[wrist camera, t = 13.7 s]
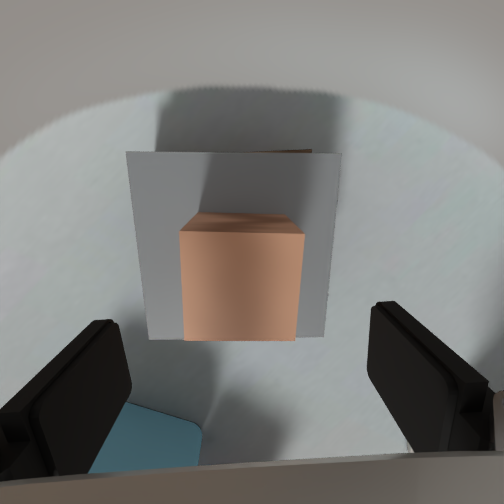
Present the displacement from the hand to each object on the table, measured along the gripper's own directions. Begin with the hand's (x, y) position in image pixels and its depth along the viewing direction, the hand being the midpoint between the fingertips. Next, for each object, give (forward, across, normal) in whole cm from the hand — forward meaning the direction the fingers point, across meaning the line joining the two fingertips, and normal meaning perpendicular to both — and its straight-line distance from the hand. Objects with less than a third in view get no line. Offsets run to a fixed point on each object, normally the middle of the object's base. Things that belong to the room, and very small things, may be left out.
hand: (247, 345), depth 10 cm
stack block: (+10, 0, 0) cm, 10 cm away
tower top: (+15, +1, -1) cm, 15 cm away
